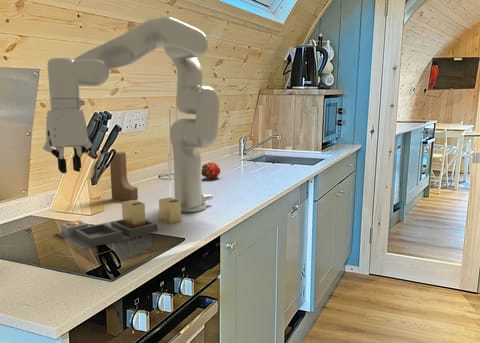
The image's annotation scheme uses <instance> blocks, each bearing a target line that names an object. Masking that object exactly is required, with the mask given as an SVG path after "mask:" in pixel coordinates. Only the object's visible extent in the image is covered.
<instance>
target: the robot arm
mask: <svg viewBox="0 0 480 343" xmlns="http://www.w3.org/2000/svg"><path fill="white" fill-rule="evenodd" d="M161 47H162V48H163V50H164V51H165V54H166V55H167V56H168V57H169V59H171V61H172V62H173V64H174V66H175V69H176V73H177V76H176V77H177V81H176V96H175V97H176V98H175V106H176V109H177V111H178V112H179V113H181V114H182V115H183V114H184V115H192V116H195V118H179V119H176V120H175V121H174V122H172V124H171V126H170V128H169V139H170V143H171V147H172V148H171V149H172V154H173V155H172V156H173V184H174V186H173V187H174V190H173V191H174V199H177V200H180V201H181V213H195V212H200V211H203V210H205V209H207V204H206V203H205V202H206V201H210V200H213V197H214V196H213V194H211V193H210V194H205V193H202V190H203V189H202V174H201V173H202V171H201V170H202V158H201V152H200V151H199V150H200V149H209V148H211V147H212V146H213V145H214V144H215V142H216V140H217V137H218V129H219V116H220V99H219V96H218V94H217V92H216V90H215V89H214V88H212V87H210V86H206V85H205V86H203V68H202V65H201V63H200V62H199V60H198V58H200V57H202V56H204V55H205V54H206V53H207V51H208V49H209V41H208V38H207V36H206V34H205V33H204V32H203V31H201V30H200V29H198V28H196V27H195V26H191V25H190V24H187V23H185V22H183V21H180V20H178V19H176V18H173V17H170V16H162V17H156V18H152V19H151V18H150V19H148V20H147V19H146V21H143V22H142V23H140V24H138V25H136V26H135V27H133V28H131V29H129V30H127V31H126V32H124V33H123V34H121V35H118V36H117V37H115V38H113V39H110V40H108V41H107V42H104V43H102V44H100V45H98V46H96V47H94V48H92V49H91V48H90V49H89V50H88V51H85V52H84V53H82V54H80V55H79V56H77V57H75V58H67V57H53V58H50V59H49V60H48V61H47V77H48V78H47V79H48V88H49V91H48V92H49V102H50V110H47V113H46V124H45V126H46V127H45V129H46V130H45V143H44V145H43V147H42V149H43V151H46V152H48V153H50V154H51V155H52V156H54V157H55V158H56V159H57V165H58V167H57V168H58V171H59V172H60V173H61V174H67V173H68V168H67V159H66V158H65V155H64V154H65V148H72V149H73V156H72V168H73V171H75V172H78V173H79V172H81V168H82V158H83V154H85V152H86V151H87V150H88V149H90V148H92V147H93V143H92V142H91V140H90V138H89V137H88V136H89V135H88V126H87V121H86V117H85V114H84V110H83V109H81V108H82V106H85V104H86V103H85V102H86V101H85V100H82V99H81V98H80V97H81V96H80V87H99V86H101V85H103V84H105V83H106V82H107V80H108V79H109V77H110V70H114V69H117V68H123V67H125V66H130V65H131V64H135V63H136V62H138V61H139V60H141V59H142V58H143V57H145V56H147V55H148V54H150V53H151V52H154V50H156V49H159V48H161ZM52 147H54V148H55V149H54V148H52Z"/></svg>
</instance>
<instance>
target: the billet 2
mask: <svg viewBox="0 0 480 343" xmlns="http://www.w3.org/2000/svg"><path fill="white" fill-rule="evenodd" d="M158 211H159V213H158V214H159V220H160V221H161V222H165V223H167V224H170V225H171V224H175V223H179V222H182V212H181V201H180V200H177V199H175V198H173V197H166V198H159V199H158Z"/></svg>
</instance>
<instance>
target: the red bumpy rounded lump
mask: <svg viewBox="0 0 480 343" xmlns="http://www.w3.org/2000/svg"><path fill="white" fill-rule="evenodd" d="M220 174H221V168H220V166H219V165H218V164H216V163H215V162H208V163H205V164H203V165H201V176H202V177H205V178H206V180H209V179H210V180H212V179H218V177H219V175H220Z"/></svg>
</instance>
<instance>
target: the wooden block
mask: <svg viewBox="0 0 480 343" xmlns="http://www.w3.org/2000/svg"><path fill="white" fill-rule="evenodd" d="M115 152H116V155H115V157H114V159H113V161H112V163H111V165H110V164H109V165H110V168H109V169H110V184H111V187H110V188H111V200H114V199H115V200H117V201H125V200H126V201H130V200H137V199H139V193H138V190H139V189H138V187H137V186H133V185H131V184H130V183H129V181H128V174H127V171H128V169H127V156H126V152H125V151H124V152H123V151H115ZM115 200H114V201H115Z"/></svg>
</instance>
